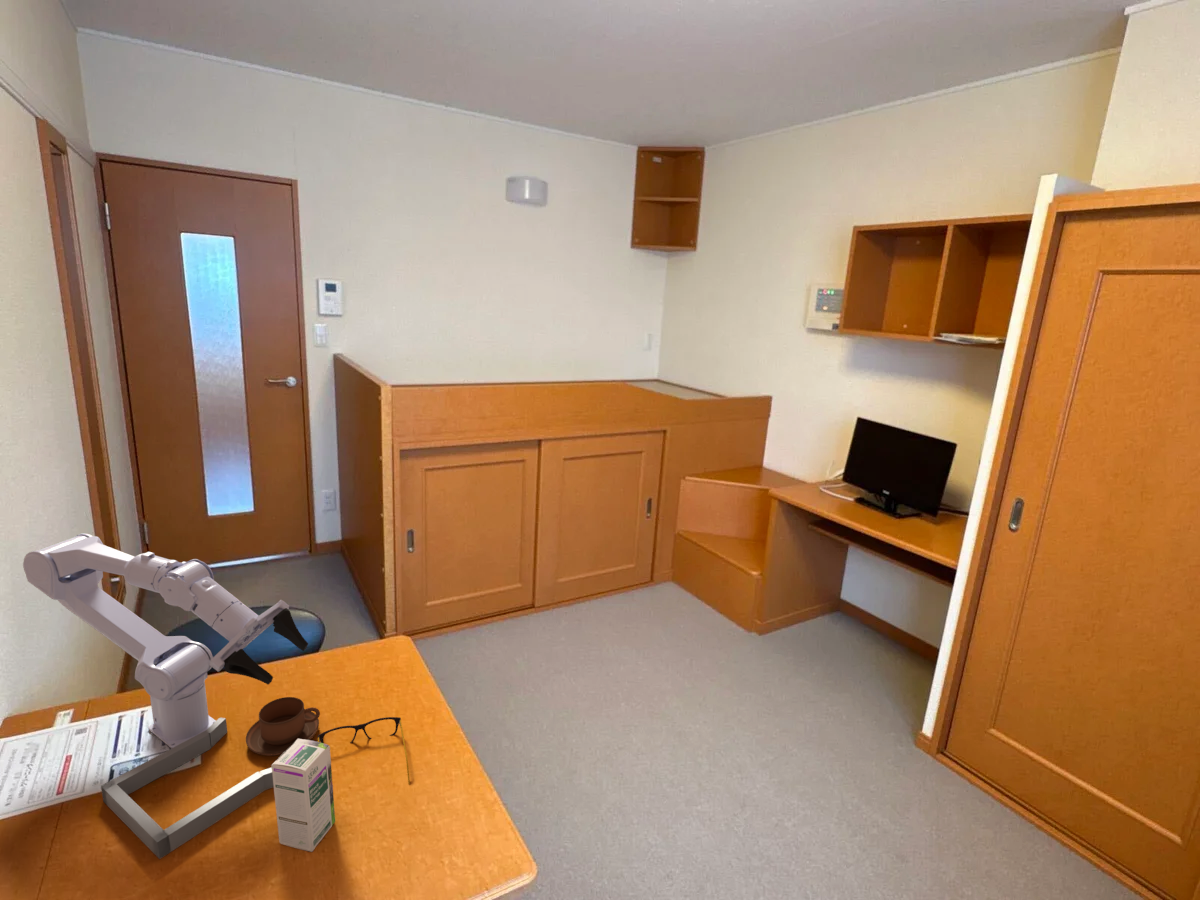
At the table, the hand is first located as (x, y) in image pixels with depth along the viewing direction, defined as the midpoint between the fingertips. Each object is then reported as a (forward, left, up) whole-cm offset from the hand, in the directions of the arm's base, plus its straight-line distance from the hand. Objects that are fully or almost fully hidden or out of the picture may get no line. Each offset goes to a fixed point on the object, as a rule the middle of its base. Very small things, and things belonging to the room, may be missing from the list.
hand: (288, 663), depth 106 cm
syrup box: (+17, -9, -18) cm, 26 cm away
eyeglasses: (+12, +5, -19) cm, 23 cm away
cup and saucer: (-5, +1, -19) cm, 19 cm away
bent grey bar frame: (-5, -14, -18) cm, 23 cm away
